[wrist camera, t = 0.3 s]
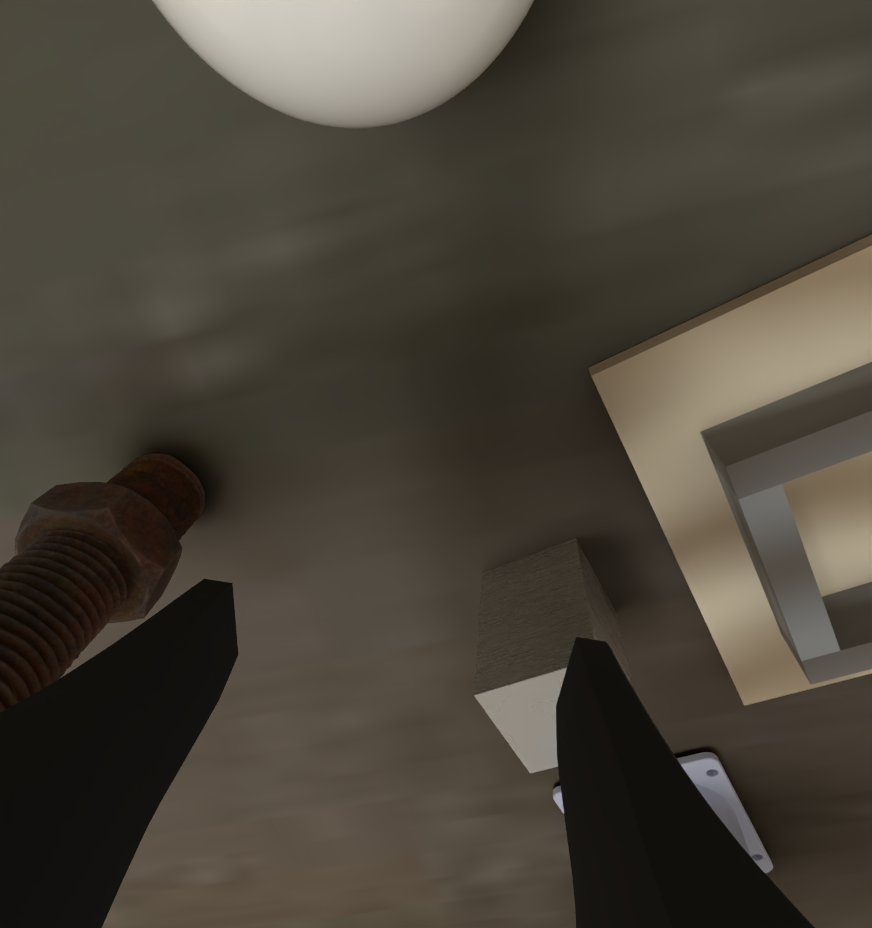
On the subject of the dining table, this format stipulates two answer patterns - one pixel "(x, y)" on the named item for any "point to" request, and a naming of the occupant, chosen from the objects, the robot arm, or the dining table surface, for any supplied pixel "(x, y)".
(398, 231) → the dining table surface
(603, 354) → the dining table surface
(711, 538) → the socket base
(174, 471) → the bolt
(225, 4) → the lightbulb
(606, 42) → the dining table surface
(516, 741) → the peg
